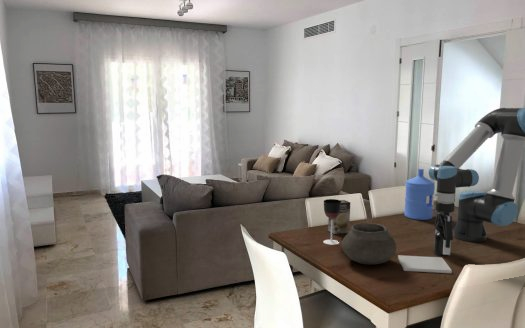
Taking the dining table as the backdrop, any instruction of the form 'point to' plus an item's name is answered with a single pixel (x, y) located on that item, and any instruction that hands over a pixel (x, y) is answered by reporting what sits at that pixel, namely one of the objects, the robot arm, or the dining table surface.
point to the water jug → (419, 197)
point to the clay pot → (369, 244)
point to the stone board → (424, 264)
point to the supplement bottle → (439, 242)
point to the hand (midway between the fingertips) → (442, 249)
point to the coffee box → (341, 219)
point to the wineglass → (332, 215)
